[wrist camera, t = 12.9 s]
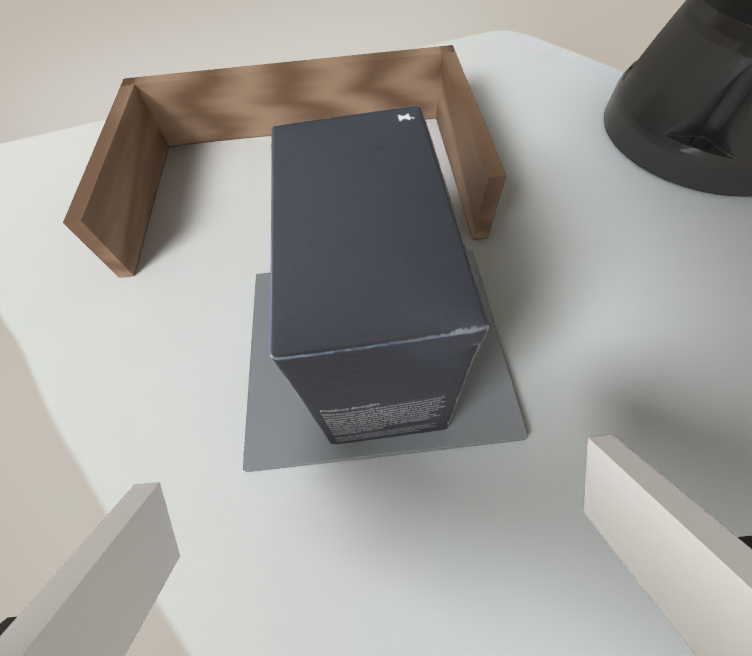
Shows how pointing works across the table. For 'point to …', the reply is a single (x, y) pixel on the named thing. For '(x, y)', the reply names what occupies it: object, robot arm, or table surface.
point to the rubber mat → (310, 446)
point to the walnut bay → (270, 131)
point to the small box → (369, 276)
